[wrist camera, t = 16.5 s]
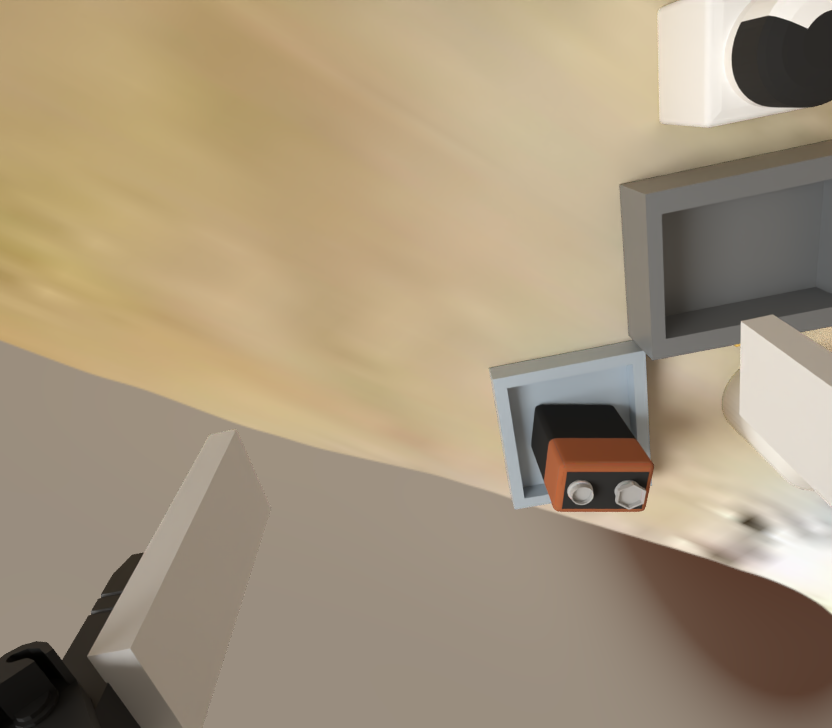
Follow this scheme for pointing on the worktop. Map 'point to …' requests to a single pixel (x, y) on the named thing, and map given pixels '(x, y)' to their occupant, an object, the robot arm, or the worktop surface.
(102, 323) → the worktop surface
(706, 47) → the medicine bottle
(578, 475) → the battery
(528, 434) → the tray
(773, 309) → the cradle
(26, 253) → the worktop surface
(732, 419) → the white rounded cylinder
